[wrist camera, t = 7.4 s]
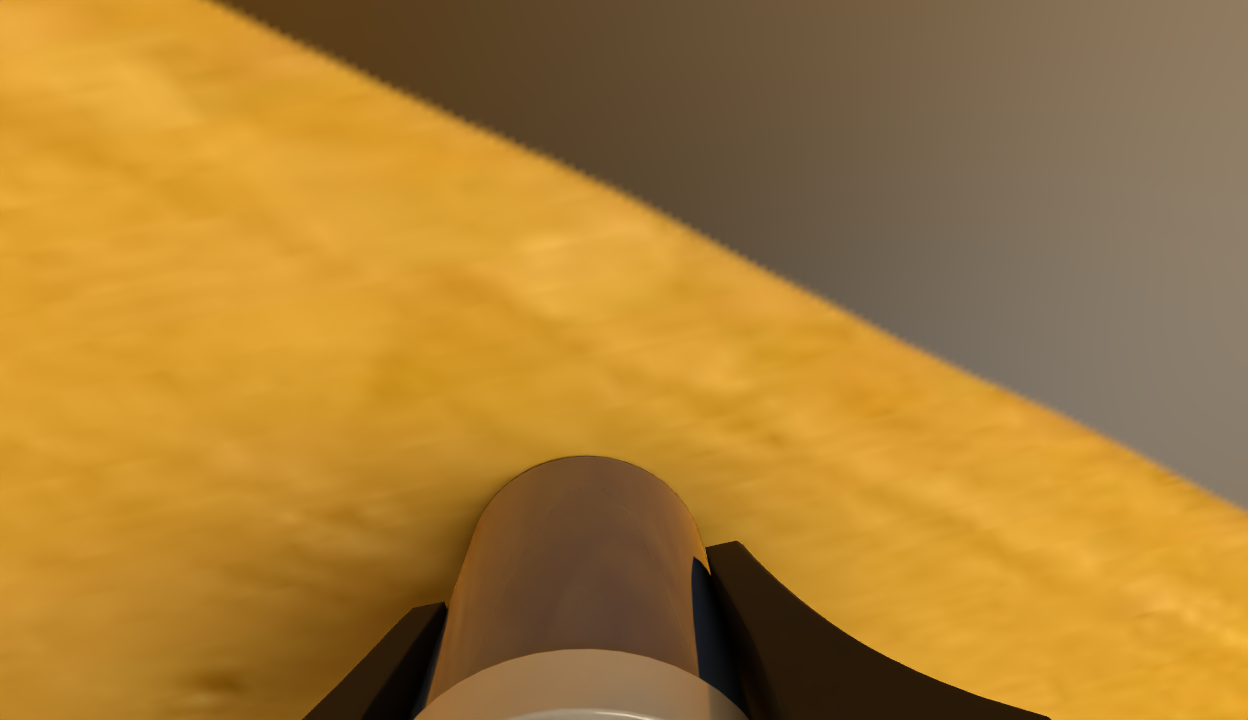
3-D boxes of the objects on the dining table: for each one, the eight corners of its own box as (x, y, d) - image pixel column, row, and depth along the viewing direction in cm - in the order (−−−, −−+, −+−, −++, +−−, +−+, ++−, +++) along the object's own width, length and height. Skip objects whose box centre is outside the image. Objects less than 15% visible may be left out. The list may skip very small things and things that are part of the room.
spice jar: (658, 688, 15) (707, 1087, 9) (437, 629, 15) (302, 1012, 8) (742, 491, 14) (876, 776, 7) (505, 418, 13) (415, 657, 7)
